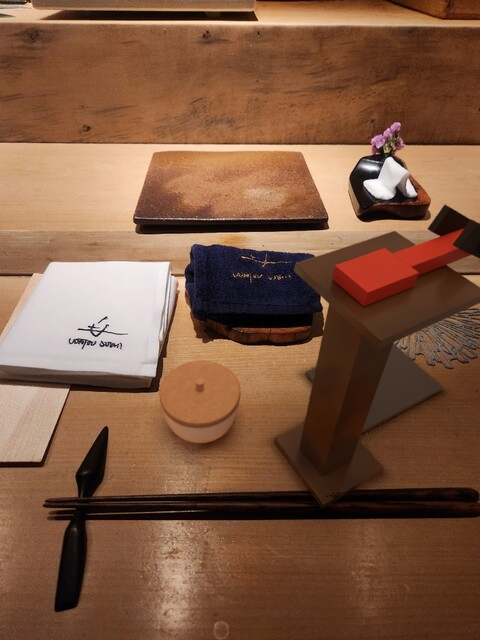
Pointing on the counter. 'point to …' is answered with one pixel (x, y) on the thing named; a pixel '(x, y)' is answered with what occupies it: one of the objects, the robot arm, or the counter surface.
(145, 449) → the counter surface
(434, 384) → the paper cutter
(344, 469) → the pedestal stand
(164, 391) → the trinket box
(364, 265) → the red block
